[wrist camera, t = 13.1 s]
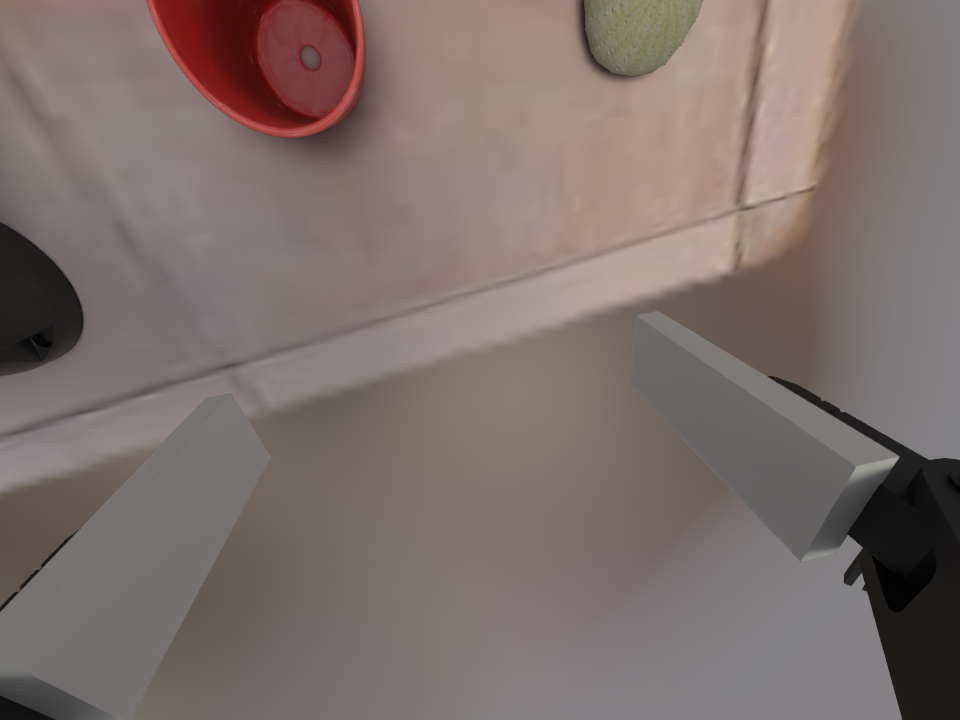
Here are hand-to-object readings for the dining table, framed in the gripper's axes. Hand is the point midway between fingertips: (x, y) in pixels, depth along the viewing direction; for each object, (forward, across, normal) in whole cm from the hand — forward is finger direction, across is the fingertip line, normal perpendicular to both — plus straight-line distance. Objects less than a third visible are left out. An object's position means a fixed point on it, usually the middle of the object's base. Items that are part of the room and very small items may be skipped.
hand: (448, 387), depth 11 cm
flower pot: (+26, -6, +15) cm, 31 cm away
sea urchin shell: (+26, +19, +15) cm, 36 cm away
